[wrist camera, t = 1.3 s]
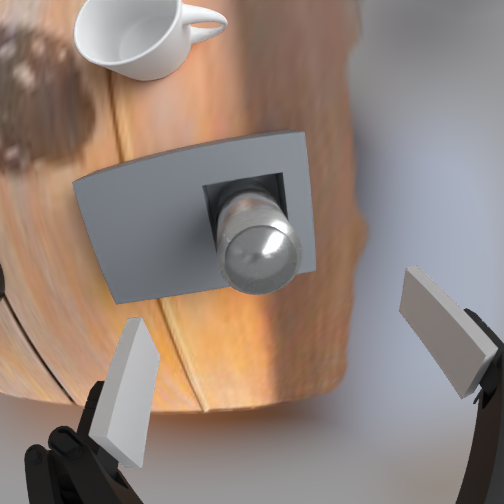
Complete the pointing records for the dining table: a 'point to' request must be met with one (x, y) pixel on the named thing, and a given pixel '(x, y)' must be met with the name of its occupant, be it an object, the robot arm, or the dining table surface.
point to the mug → (141, 35)
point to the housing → (187, 211)
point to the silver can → (255, 239)
